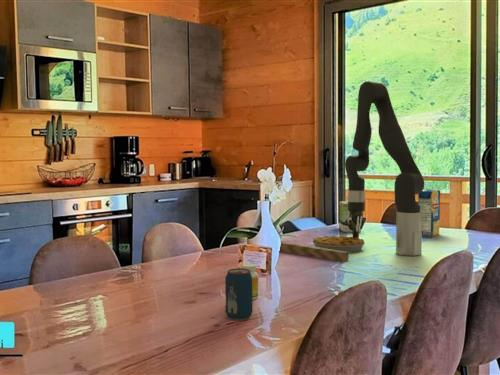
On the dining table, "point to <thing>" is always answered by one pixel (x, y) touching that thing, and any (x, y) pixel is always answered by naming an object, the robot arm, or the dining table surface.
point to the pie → (339, 243)
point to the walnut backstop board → (314, 251)
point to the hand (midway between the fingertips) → (355, 239)
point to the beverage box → (429, 212)
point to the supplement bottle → (255, 278)
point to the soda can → (238, 294)
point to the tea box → (344, 216)
